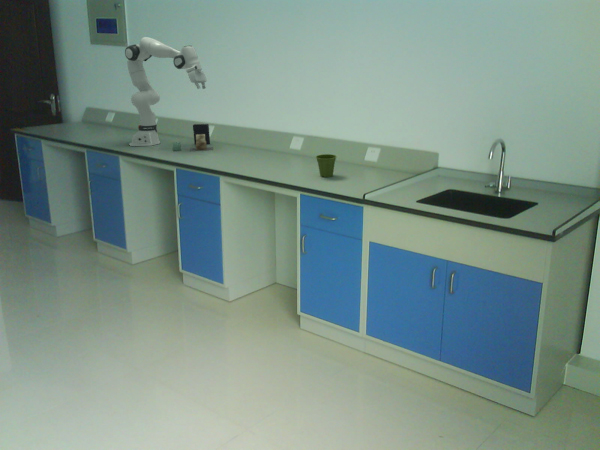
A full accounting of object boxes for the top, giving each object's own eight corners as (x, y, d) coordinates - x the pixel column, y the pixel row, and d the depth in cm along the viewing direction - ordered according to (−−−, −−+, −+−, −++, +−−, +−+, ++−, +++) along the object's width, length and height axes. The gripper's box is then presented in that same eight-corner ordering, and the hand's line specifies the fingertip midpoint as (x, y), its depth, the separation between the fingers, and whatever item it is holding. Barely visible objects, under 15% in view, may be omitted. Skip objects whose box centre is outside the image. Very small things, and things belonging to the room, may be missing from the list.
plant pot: (312, 175, 344) (311, 155, 340) (329, 172, 349) (329, 153, 346) (323, 179, 334) (323, 159, 330) (341, 176, 339) (340, 156, 336)
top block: (196, 143, 419) (195, 135, 417) (196, 141, 425) (196, 134, 423) (205, 142, 420) (204, 135, 418) (205, 141, 425) (204, 134, 424)
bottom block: (196, 150, 420) (195, 143, 418) (196, 148, 427) (196, 141, 425) (206, 149, 421) (205, 142, 419) (206, 147, 427) (206, 141, 426)
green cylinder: (172, 152, 419) (172, 143, 417) (173, 150, 424) (172, 142, 422) (180, 151, 420) (180, 143, 418) (181, 150, 425) (180, 141, 423)
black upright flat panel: (210, 144, 444) (208, 123, 439) (209, 145, 440) (207, 124, 435) (195, 144, 445) (194, 123, 441) (194, 145, 441) (192, 124, 437)
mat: (189, 152, 417) (189, 151, 417) (190, 148, 429) (190, 148, 428) (212, 150, 419) (212, 150, 419) (213, 147, 430) (213, 147, 430)
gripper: (196, 71, 421) (203, 90, 422) (184, 70, 401) (191, 90, 403) (204, 67, 419) (211, 87, 421) (193, 66, 399) (200, 87, 401)
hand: (201, 88), depth 412 cm, fingers open, 8 cm apart
